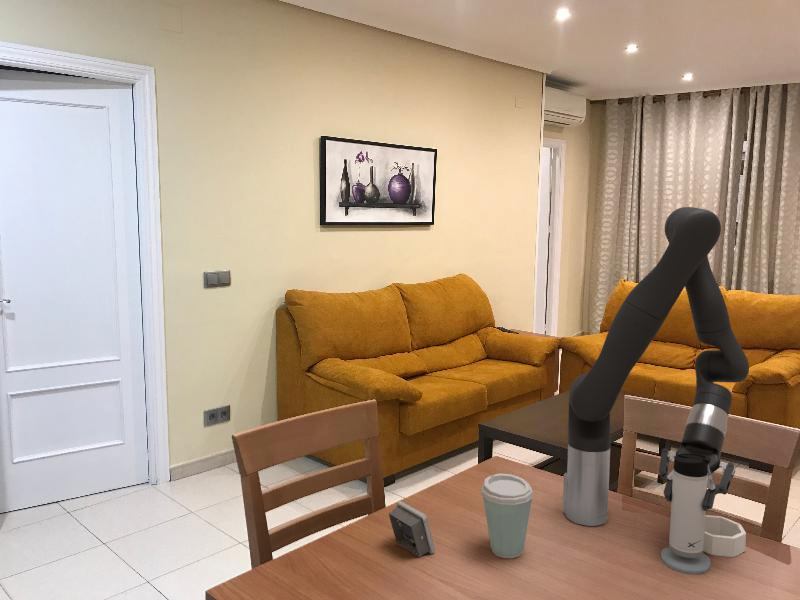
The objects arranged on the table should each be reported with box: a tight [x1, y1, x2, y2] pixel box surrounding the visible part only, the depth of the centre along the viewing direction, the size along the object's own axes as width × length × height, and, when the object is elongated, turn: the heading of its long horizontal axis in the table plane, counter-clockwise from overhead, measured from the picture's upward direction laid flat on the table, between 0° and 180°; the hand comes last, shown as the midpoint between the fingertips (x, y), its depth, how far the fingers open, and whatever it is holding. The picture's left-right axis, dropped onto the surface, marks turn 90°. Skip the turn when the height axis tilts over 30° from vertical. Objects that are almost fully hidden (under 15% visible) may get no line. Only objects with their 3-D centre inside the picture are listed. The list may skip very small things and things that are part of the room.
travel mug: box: [668, 453, 711, 558], centre depth 127 cm, size 6×7×20 cm
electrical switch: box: [388, 500, 436, 558], centre depth 133 cm, size 9×5×9 cm, turn 38°
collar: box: [703, 514, 747, 558], centre depth 135 cm, size 10×10×4 cm
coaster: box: [660, 546, 711, 575], centre depth 128 cm, size 9×9×1 cm
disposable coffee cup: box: [480, 473, 534, 559], centre depth 132 cm, size 11×11×15 cm
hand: (686, 504), depth 126 cm, fingers closed on travel mug, 6 cm apart
